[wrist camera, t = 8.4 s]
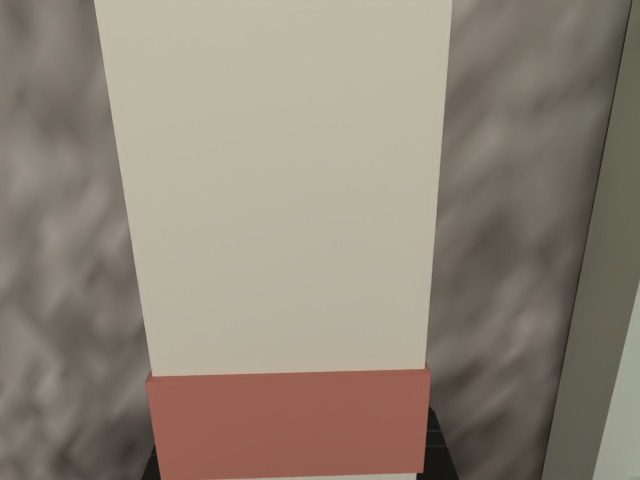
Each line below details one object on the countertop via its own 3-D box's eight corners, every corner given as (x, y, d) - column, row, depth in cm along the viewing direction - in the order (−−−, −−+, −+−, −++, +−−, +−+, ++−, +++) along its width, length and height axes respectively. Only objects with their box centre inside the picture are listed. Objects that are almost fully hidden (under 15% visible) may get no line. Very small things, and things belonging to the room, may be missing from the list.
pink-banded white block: (385, -270, 7) (530, -847, 3) (364, 458, 12) (403, 713, 8) (176, -271, 7) (-60, -869, 3) (240, 462, 12) (200, 722, 8)
